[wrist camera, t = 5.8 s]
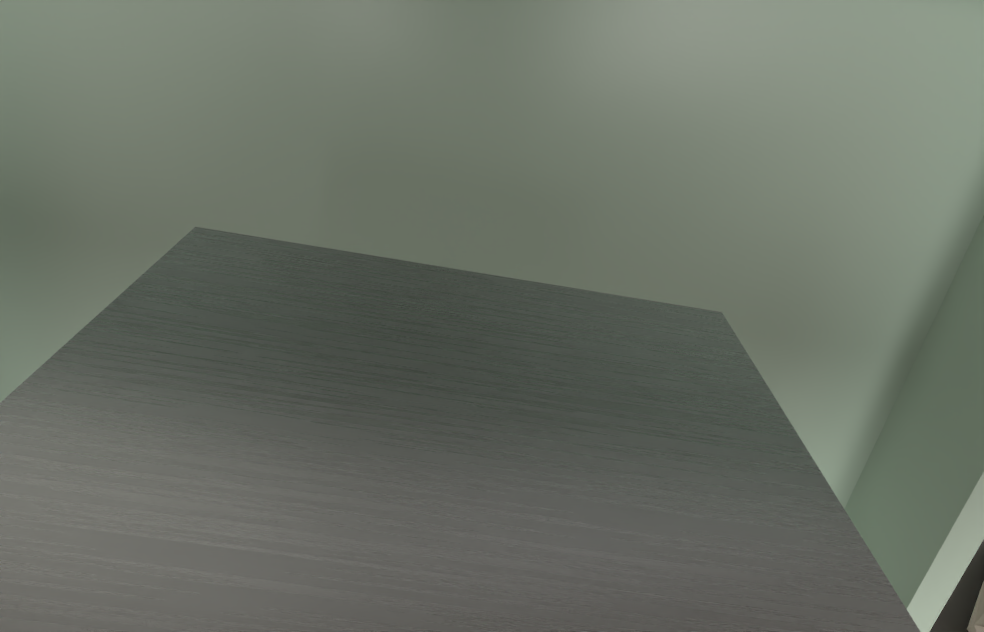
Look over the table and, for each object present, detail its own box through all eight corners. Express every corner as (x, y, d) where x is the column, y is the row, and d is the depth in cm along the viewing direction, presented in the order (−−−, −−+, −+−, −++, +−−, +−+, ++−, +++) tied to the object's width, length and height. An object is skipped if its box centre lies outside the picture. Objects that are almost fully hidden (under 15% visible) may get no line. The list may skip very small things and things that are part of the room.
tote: (-9, 477, 16) (-122, 593, 13) (-116, -280, 10) (-353, -368, 8) (812, 592, 17) (876, 723, 14) (1112, -33, 12) (1317, -29, 9)
